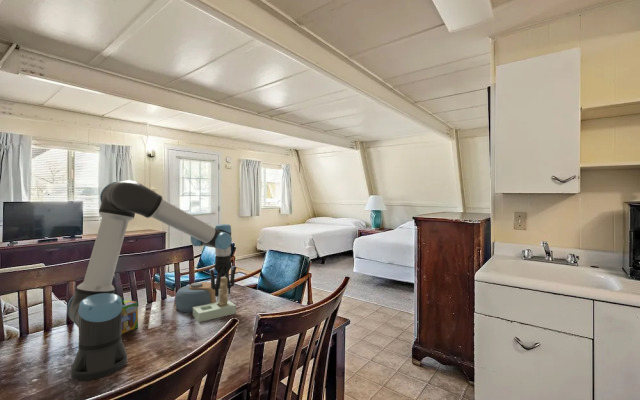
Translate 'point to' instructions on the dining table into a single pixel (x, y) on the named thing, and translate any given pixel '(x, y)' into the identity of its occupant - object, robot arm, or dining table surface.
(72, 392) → the dining table surface
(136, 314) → the chalk box
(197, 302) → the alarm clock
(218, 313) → the socket block
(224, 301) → the peg
